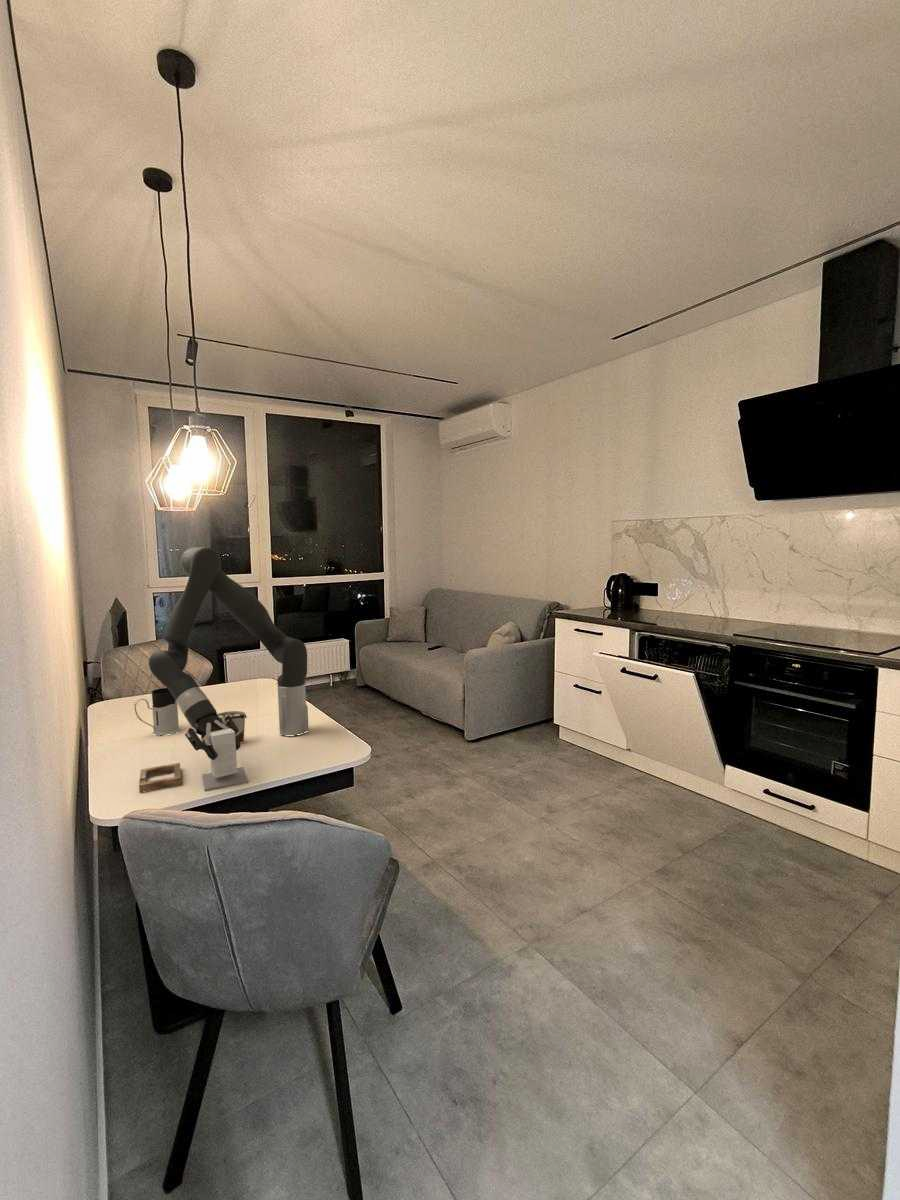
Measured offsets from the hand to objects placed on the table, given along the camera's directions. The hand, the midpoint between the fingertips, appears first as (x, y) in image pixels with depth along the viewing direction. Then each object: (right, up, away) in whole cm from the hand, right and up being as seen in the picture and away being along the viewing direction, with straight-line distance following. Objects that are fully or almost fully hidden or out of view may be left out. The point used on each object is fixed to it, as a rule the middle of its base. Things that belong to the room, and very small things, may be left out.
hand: (226, 753), depth 153 cm
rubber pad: (-1, -8, +1) cm, 8 cm away
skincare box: (-1, -6, +1) cm, 6 cm away
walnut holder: (-19, -8, +1) cm, 21 cm away
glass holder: (-40, -4, +40) cm, 57 cm away
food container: (-12, -5, +29) cm, 32 cm away
